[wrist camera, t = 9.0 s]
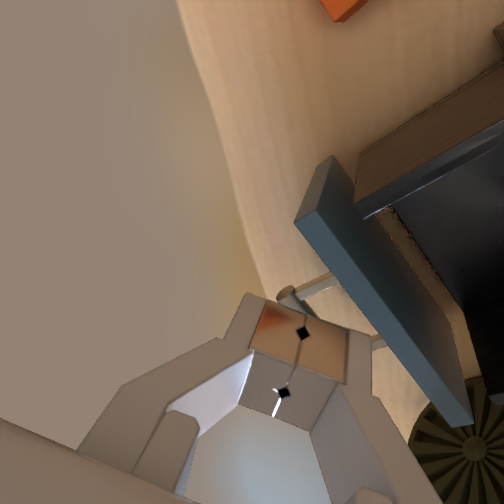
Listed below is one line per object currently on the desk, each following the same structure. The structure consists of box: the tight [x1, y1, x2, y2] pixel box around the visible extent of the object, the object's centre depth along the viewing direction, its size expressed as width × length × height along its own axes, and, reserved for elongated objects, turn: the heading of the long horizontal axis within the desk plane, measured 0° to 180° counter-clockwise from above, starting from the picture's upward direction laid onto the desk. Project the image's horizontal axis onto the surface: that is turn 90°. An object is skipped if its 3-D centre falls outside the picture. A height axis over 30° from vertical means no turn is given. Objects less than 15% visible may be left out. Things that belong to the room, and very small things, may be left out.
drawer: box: [276, 61, 504, 428], centre depth 19 cm, size 19×14×8 cm
